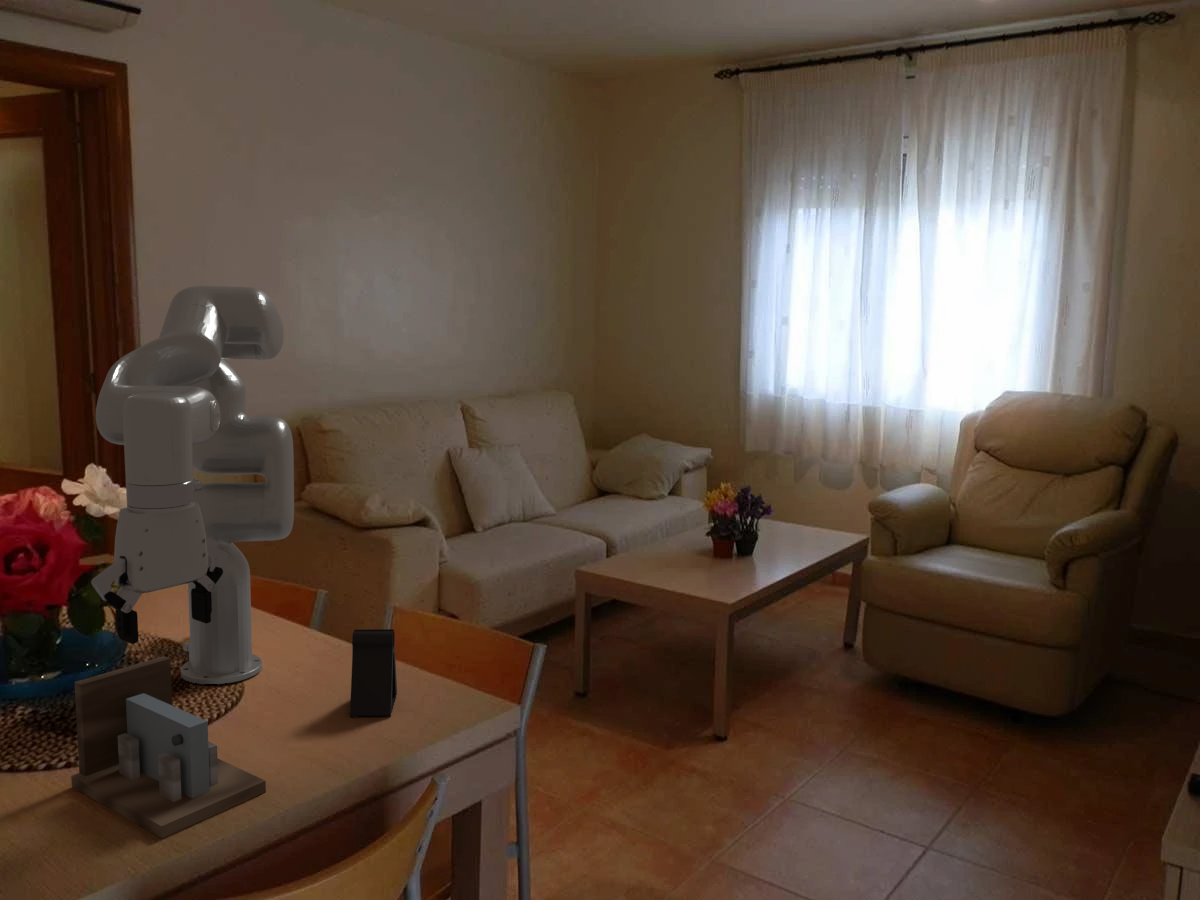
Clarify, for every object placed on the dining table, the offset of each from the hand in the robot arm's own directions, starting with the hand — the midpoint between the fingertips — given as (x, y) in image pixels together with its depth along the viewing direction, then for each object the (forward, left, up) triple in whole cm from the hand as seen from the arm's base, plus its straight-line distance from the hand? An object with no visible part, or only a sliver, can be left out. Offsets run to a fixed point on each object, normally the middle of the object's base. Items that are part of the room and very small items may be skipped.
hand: (166, 630), depth 124 cm
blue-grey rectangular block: (+1, -1, -19) cm, 19 cm away
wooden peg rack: (+1, -1, -20) cm, 20 cm away
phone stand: (+1, +33, -21) cm, 39 cm away
